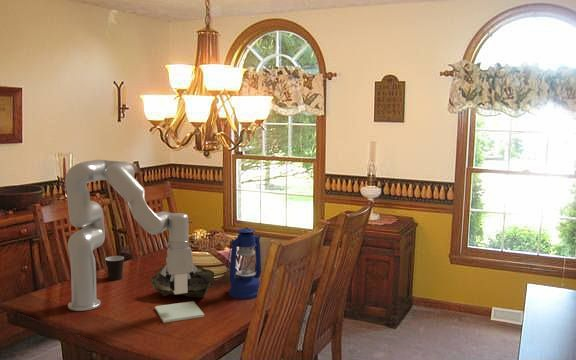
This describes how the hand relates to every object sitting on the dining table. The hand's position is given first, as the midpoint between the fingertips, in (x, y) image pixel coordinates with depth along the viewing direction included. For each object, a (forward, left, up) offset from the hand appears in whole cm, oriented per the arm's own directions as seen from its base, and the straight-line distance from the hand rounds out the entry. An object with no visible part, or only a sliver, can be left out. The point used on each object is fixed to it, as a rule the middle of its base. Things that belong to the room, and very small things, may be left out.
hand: (179, 288), depth 212 cm
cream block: (0, 0, -1) cm, 1 cm away
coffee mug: (-56, -17, -10) cm, 60 cm away
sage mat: (0, 0, -10) cm, 10 cm away
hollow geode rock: (-18, +6, -10) cm, 22 cm away
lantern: (-12, +33, -10) cm, 36 cm away
